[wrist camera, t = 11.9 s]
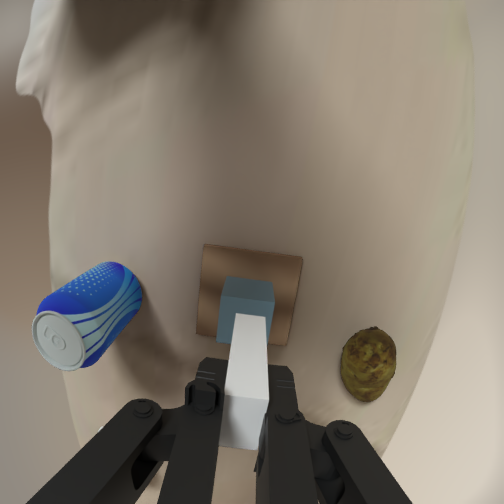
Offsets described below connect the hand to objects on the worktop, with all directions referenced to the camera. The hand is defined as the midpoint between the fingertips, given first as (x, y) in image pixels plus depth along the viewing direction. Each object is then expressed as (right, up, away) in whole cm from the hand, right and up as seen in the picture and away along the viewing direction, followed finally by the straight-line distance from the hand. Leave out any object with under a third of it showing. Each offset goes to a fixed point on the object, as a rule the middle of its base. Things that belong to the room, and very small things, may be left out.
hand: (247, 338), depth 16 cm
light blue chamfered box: (0, -2, +24) cm, 24 cm away
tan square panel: (0, -1, +25) cm, 25 cm away
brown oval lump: (+16, -10, +27) cm, 33 cm away
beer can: (-18, -1, +25) cm, 31 cm away
